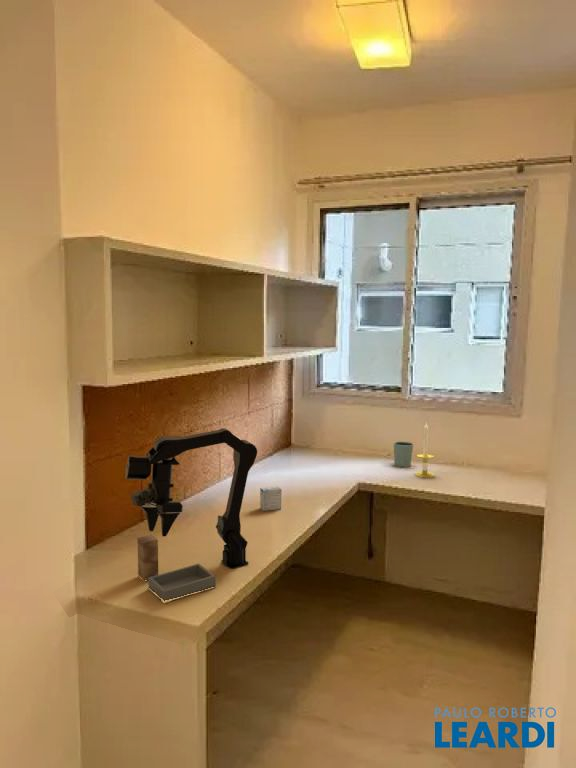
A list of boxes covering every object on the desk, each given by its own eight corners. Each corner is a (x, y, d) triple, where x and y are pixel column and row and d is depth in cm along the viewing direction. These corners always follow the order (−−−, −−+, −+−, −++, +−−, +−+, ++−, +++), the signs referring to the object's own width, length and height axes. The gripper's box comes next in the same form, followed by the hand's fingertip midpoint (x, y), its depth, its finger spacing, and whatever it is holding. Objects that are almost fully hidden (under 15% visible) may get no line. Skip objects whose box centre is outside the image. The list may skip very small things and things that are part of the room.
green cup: (389, 464, 304) (389, 442, 302) (404, 462, 309) (404, 440, 307) (401, 468, 295) (402, 446, 294) (416, 466, 300) (417, 444, 298)
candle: (412, 472, 289) (414, 420, 286) (432, 472, 289) (434, 420, 285) (417, 477, 279) (418, 423, 276) (437, 477, 279) (439, 423, 276)
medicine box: (277, 506, 235) (278, 485, 234) (281, 509, 231) (281, 488, 230) (259, 508, 232) (259, 487, 231) (263, 511, 228) (263, 490, 227)
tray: (198, 574, 172) (198, 563, 171) (215, 587, 163) (215, 576, 163) (148, 589, 162) (148, 577, 162) (163, 603, 154) (163, 591, 154)
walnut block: (152, 572, 173) (151, 534, 172) (158, 577, 169) (157, 539, 168) (138, 576, 170) (137, 538, 169) (144, 581, 167) (143, 542, 165)
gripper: (123, 477, 170) (119, 530, 168) (148, 482, 155) (143, 541, 153) (158, 477, 176) (154, 528, 175) (185, 482, 161) (181, 538, 160)
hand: (157, 533), depth 166 cm, fingers open, 9 cm apart
